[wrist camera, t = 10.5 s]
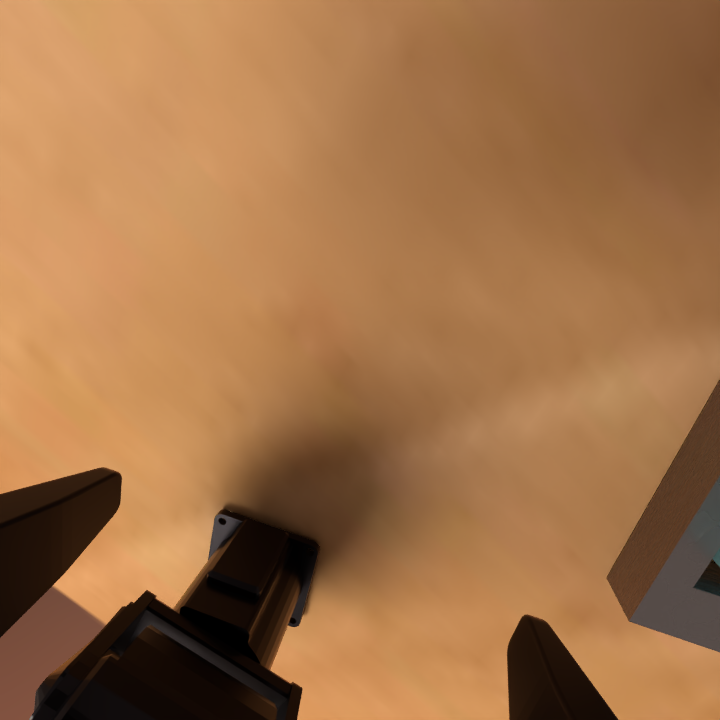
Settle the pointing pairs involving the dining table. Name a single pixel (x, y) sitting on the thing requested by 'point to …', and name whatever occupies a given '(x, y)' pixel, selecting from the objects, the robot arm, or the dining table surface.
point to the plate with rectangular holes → (679, 544)
